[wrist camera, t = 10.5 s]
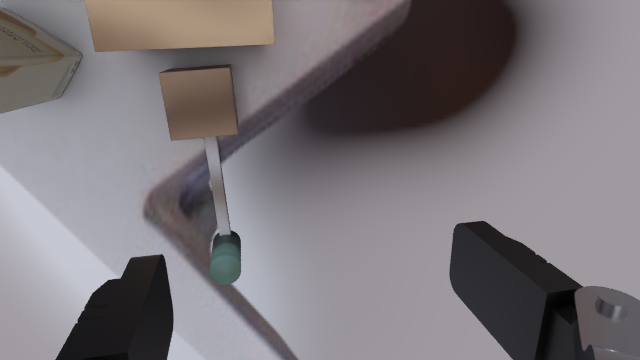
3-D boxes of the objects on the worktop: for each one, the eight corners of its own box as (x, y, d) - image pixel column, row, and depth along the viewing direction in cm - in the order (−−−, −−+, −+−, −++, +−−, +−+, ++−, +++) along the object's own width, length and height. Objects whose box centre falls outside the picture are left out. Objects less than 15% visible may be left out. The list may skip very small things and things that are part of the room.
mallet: (169, 68, 34) (157, 73, 29) (230, 64, 35) (229, 67, 30) (202, 257, 40) (197, 289, 35) (254, 250, 41) (256, 280, 36)
